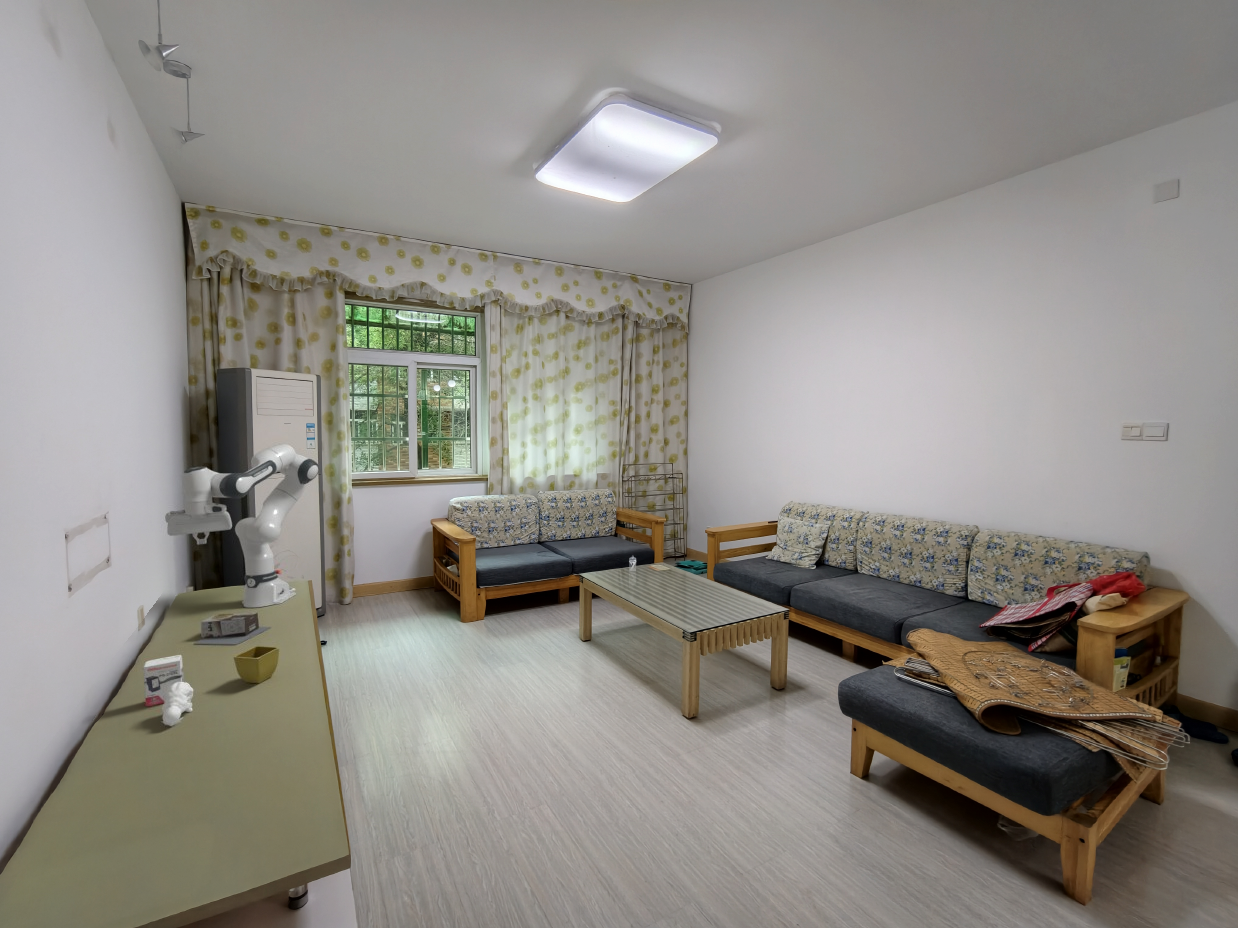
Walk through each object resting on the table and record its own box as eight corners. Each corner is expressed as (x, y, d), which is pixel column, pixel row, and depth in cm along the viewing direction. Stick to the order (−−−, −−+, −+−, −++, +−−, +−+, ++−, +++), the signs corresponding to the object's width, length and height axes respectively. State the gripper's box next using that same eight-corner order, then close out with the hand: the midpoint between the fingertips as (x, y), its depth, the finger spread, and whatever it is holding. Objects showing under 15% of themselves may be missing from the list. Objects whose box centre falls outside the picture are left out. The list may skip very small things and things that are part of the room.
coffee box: (201, 638, 213) (245, 636, 214) (200, 621, 212) (244, 619, 213) (217, 630, 222) (259, 628, 223) (216, 613, 222) (258, 612, 222)
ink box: (145, 707, 160) (142, 666, 159) (147, 700, 164) (144, 660, 163) (183, 698, 164) (180, 659, 164) (184, 692, 168) (182, 653, 168)
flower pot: (258, 687, 171) (257, 658, 170) (234, 685, 173) (232, 656, 172) (281, 674, 180) (280, 647, 179) (258, 672, 181) (256, 645, 181)
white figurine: (193, 676, 159) (182, 698, 148) (196, 704, 160) (185, 728, 149) (165, 681, 156) (152, 704, 145) (168, 710, 157) (155, 734, 147)
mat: (231, 627, 226) (231, 626, 226) (271, 627, 224) (270, 626, 224) (193, 644, 208) (193, 643, 208) (235, 645, 206) (235, 644, 206)
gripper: (163, 512, 211) (167, 549, 212) (230, 506, 222) (232, 541, 223) (165, 510, 216) (169, 546, 217) (230, 505, 227) (233, 538, 228)
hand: (201, 543), depth 220 cm, fingers closed
